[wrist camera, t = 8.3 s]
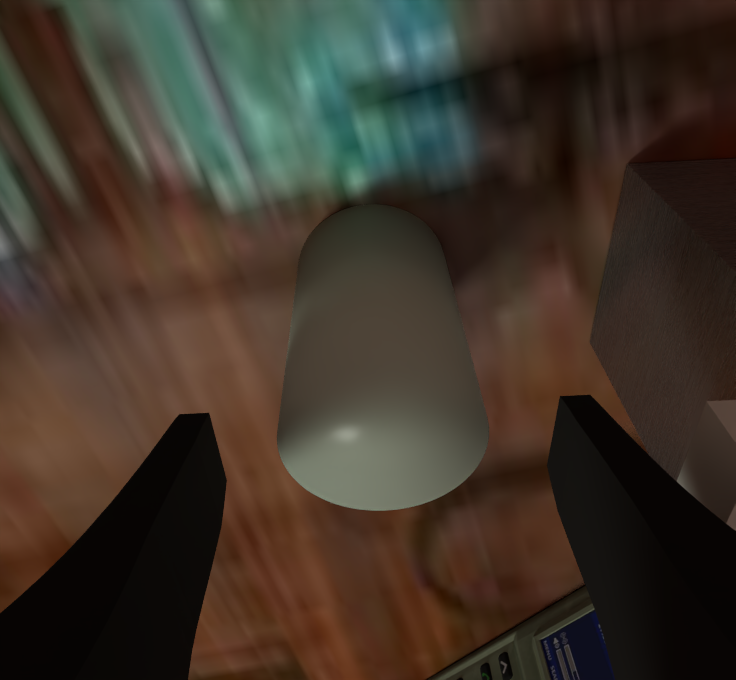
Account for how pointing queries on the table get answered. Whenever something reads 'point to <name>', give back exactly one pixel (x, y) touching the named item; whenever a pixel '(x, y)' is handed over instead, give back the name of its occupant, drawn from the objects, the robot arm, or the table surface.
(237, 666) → the table surface
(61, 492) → the table surface
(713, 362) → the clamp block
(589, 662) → the handheld radio
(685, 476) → the pale grey rectangular box
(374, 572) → the table surface
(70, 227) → the table surface
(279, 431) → the plug
